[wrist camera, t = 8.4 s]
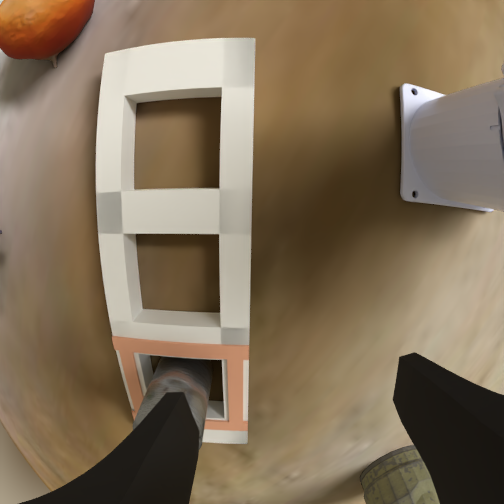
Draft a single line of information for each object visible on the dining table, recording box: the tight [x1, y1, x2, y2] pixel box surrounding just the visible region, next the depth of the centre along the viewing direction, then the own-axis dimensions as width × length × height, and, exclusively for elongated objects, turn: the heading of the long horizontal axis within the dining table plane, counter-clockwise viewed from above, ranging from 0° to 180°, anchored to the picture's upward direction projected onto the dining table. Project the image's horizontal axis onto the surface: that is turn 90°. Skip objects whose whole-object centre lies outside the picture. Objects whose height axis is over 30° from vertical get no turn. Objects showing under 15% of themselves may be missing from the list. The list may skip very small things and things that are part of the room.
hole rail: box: [96, 38, 255, 444], centre depth 17 cm, size 9×28×2 cm, turn 179°
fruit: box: [0, 0, 95, 68], centre depth 11 cm, size 8×8×8 cm
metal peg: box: [133, 356, 213, 449], centre depth 17 cm, size 4×4×7 cm
